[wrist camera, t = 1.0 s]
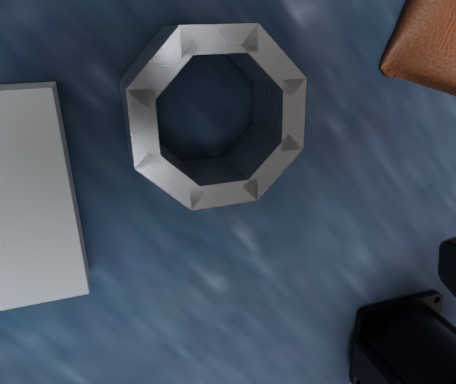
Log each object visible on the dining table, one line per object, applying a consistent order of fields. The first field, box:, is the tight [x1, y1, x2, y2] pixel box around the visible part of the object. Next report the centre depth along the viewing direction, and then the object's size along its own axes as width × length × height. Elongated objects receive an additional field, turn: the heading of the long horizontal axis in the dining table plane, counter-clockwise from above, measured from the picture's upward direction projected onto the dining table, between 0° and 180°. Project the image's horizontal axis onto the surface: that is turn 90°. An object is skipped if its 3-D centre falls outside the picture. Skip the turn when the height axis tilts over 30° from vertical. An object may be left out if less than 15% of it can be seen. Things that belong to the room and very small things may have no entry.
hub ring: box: [119, 23, 307, 210], centre depth 17 cm, size 7×7×4 cm
